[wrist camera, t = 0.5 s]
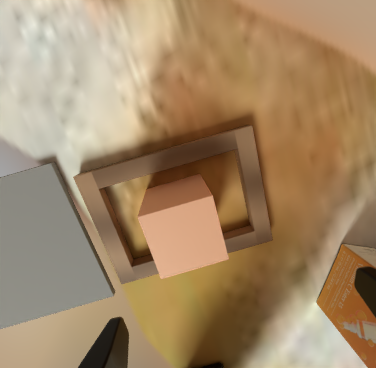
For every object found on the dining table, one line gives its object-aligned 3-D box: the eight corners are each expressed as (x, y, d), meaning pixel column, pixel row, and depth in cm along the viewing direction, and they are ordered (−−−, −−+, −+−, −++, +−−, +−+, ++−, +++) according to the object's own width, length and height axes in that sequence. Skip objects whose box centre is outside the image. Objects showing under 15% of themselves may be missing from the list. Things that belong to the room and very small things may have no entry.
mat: (115, 291, 22) (113, 296, 22) (2, 324, 22) (-3, 329, 22) (54, 161, 18) (50, 163, 18) (-85, 201, 18) (-93, 204, 18)
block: (212, 221, 21) (229, 259, 15) (163, 235, 21) (161, 279, 15) (199, 173, 20) (212, 195, 14) (146, 188, 20) (137, 217, 14)
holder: (267, 234, 22) (272, 240, 21) (124, 275, 22) (121, 284, 21) (247, 125, 19) (252, 125, 18) (79, 173, 19) (73, 177, 18)
